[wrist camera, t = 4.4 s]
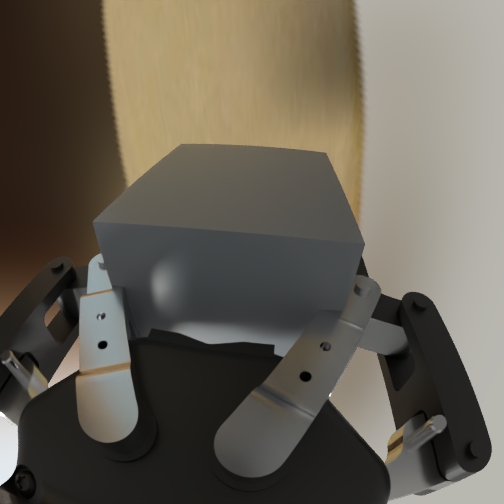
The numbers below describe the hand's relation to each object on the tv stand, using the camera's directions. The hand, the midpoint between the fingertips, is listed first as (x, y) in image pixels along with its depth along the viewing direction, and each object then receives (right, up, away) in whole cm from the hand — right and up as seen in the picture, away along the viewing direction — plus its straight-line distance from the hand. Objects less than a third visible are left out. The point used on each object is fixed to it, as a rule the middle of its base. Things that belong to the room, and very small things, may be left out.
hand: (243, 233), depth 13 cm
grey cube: (0, +1, +2) cm, 2 cm away
